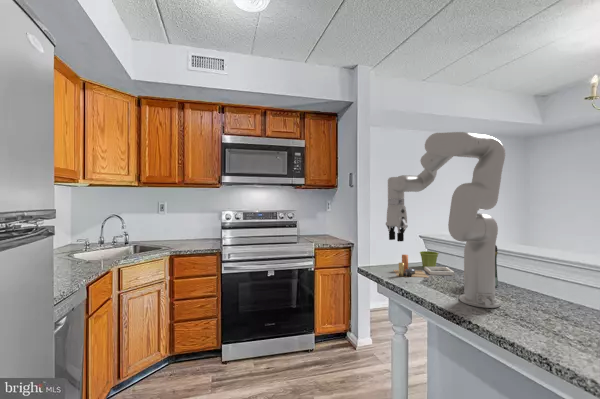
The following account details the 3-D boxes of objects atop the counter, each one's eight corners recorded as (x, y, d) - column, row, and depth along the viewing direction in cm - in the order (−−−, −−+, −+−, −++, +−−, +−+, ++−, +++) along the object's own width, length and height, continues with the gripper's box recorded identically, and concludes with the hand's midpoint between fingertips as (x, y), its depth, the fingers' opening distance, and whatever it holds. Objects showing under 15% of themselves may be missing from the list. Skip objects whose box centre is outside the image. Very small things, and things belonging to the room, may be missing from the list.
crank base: (429, 279, 139) (429, 273, 139) (397, 278, 141) (397, 272, 141) (421, 272, 153) (421, 266, 153) (393, 271, 155) (392, 265, 155)
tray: (454, 277, 143) (454, 272, 143) (430, 276, 144) (430, 271, 144) (446, 271, 154) (446, 267, 154) (424, 271, 155) (424, 266, 155)
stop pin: (408, 271, 150) (408, 255, 150) (402, 271, 151) (402, 255, 151) (407, 270, 153) (407, 254, 153) (401, 270, 154) (401, 254, 154)
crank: (408, 271, 150) (408, 259, 150) (416, 272, 146) (416, 260, 146) (395, 275, 142) (395, 262, 142) (404, 276, 139) (404, 264, 139)
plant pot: (442, 269, 159) (442, 253, 159) (431, 271, 154) (431, 254, 154) (427, 266, 167) (427, 250, 167) (415, 268, 162) (415, 252, 162)
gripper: (414, 202, 138) (415, 242, 138) (391, 202, 155) (391, 238, 154) (401, 202, 136) (401, 243, 136) (378, 202, 152) (379, 238, 152)
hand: (396, 240), depth 145 cm, fingers open, 5 cm apart
